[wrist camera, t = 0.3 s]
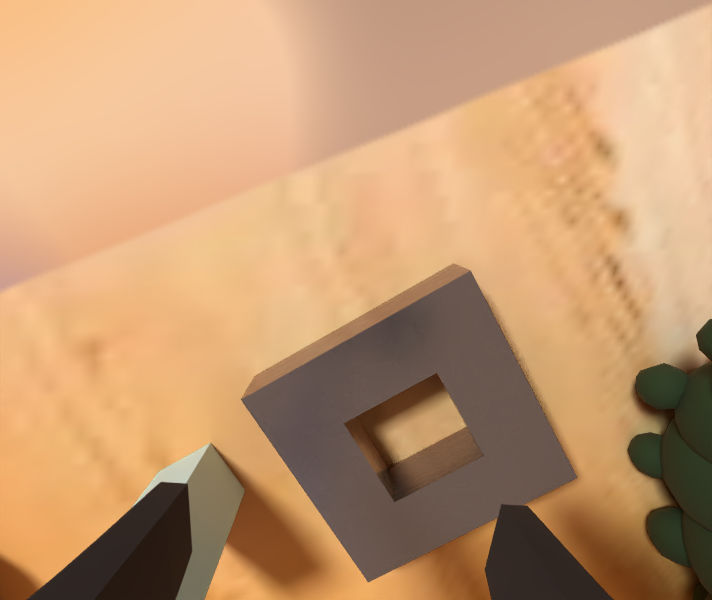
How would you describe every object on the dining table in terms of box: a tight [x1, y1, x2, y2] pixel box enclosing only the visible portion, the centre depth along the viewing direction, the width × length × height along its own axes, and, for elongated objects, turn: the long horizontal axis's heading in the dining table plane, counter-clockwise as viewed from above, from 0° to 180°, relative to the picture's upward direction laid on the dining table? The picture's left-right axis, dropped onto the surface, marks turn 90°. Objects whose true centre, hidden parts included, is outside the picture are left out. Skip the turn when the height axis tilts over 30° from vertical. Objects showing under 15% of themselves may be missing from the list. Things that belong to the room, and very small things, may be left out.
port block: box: [241, 264, 577, 582], centre depth 18 cm, size 11×11×2 cm
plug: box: [133, 443, 245, 600], centre depth 17 cm, size 3×3×7 cm
